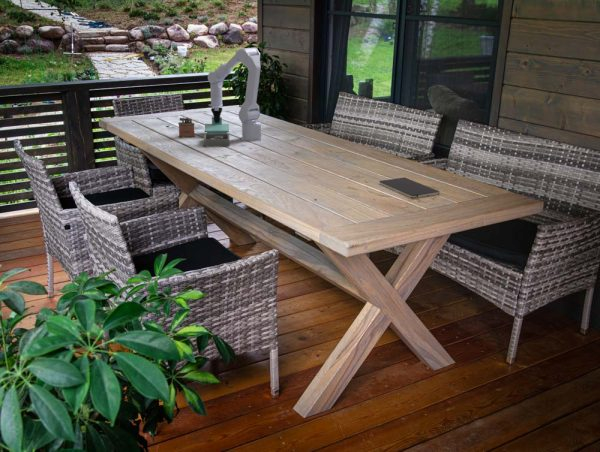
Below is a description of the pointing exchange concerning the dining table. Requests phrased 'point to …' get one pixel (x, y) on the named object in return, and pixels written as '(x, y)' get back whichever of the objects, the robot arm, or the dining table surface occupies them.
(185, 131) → the lighter
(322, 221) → the dining table surface
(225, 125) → the lid
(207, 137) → the tub
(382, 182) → the notebook
